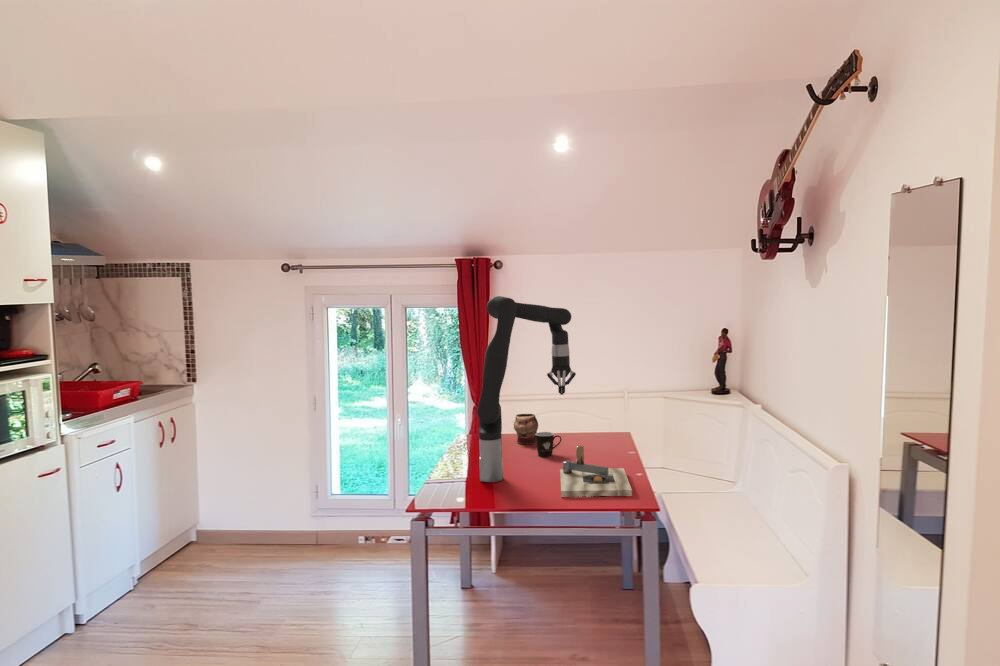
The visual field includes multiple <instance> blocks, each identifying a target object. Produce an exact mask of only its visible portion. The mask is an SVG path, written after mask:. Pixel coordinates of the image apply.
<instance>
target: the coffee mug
mask: <svg viewBox="0 0 1000 666" xmlns="http://www.w3.org/2000/svg"><path fill="white" fill-rule="evenodd" d="M535 437H536V442H535V444H536V450H537V456H538V457H539V458H551V457H552V456H553V452H554V451H553V450H554V449H555V448H556V447H558V446H559V445H560V444H561V443H562V436H560V435H555V433H553V432H551V431H540V432H537V433H536V434H535ZM557 437H558V438H559V439H560V440H559V442H558V443H557V444H556V445H554V441H555V438H557Z"/></svg>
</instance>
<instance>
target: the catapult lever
mask: <svg viewBox="0 0 1000 666" xmlns="http://www.w3.org/2000/svg"><path fill="white" fill-rule="evenodd" d="M575 453H576V458H575V459H576V462H574V461H571V460H563V461H562V469H563V473H565V474H570V473H572V470H574V471H581V472H587V473H594V474H601V475H609V471H608V469H609V467H608V466H602V465H596V464H588V463H585V451H584V446H583V445H576V446H575Z"/></svg>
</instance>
